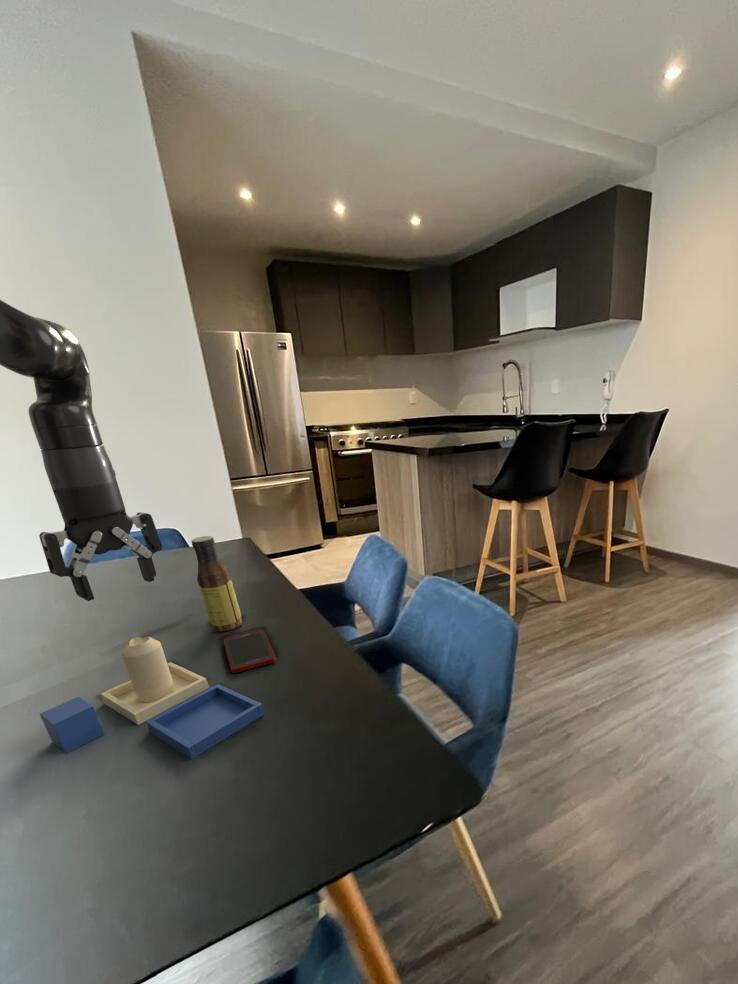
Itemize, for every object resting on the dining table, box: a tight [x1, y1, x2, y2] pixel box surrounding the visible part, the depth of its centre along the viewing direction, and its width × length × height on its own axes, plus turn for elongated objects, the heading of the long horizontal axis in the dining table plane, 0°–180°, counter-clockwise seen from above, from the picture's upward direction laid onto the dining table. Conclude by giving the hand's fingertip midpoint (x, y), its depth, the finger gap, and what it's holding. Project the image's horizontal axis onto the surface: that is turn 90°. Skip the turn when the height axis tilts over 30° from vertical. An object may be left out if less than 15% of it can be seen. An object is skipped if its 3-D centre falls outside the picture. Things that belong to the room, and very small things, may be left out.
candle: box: [121, 635, 175, 702], centre depth 80 cm, size 6×6×10 cm
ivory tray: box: [100, 662, 210, 726], centre depth 81 cm, size 12×12×2 cm
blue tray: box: [145, 683, 265, 760], centre depth 73 cm, size 12×12×2 cm
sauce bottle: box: [191, 535, 243, 632], centre depth 102 cm, size 6×6×20 cm
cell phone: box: [223, 629, 277, 674], centre depth 94 cm, size 8×15×1 cm, turn 28°
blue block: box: [39, 696, 105, 754], centre depth 71 cm, size 5×5×5 cm
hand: (120, 589), depth 74 cm, fingers open, 8 cm apart
